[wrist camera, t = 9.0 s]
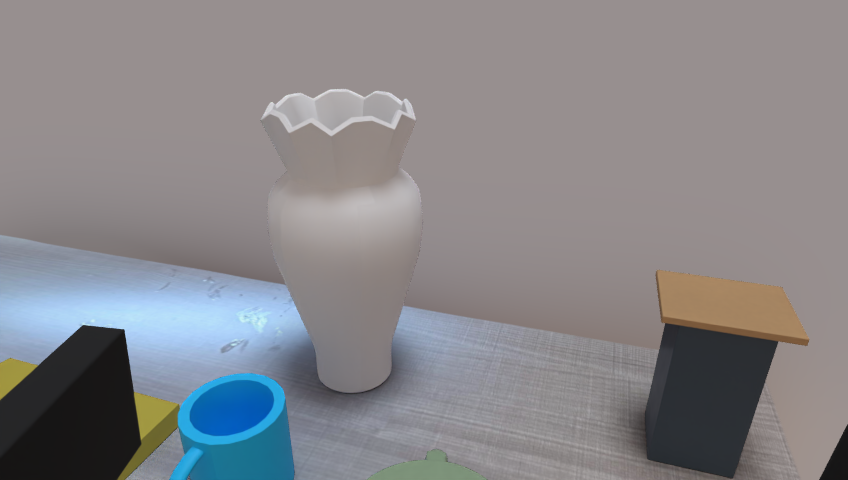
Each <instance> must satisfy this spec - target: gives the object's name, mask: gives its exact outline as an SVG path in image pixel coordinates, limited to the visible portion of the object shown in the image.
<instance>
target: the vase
mask: <svg viewBox="0 0 848 480" xmlns="http://www.w3.org/2000/svg"><path fill="white" fill-rule="evenodd" d="M260 121H261V122H262V124H263V126H264V128H265V130H266V132H267V133H268V136H269V137H270V139H271V141H272V143H273V144H274V146H275V149H276V150H277V152H278V154H279V156H280V158H281V160H282V162H283V163H284V165H285V167H286V169H287V171H286V172H285V173H284V174H283V175H282V176H281V177H280V178H279V179H278V180H277V181H276V182H275V184H274V186H273V187H272V189H271V191H270V193H269V196H268V233H269V237H270V242H271V246H272V250H273V254H274V258H275V261H276V264H277V266H278V268H279V270H280V272H281V275H282V277H283V279H284V281H285V283H286V286H287V288H288V290H289V292H290V294H291V297H292V299H293V301H294V303H295V305H296V308H297V310H298V312H299V314H300V316H301V319H302V321H303V323H304V325H305V327H306V330H307V332H308V334H309V336H310V338H311V341H312V343H313V345H314V349H315V352H316V361H317V372H318V376H319V379H320V381H321V382H322V383H323V384H324V385H325V386H327V387H329V388H330V389H332V390H336V391H339V392H344V393H358V392H364V391H367V390H371V389H373V388H375V387H377V386H379V385H380V384H382V383H383V382H384V381H385V380H386V379H387V378H388V376H389V375H390V372H391V368H392V360H391V345H392V339H393V336H394V333H395V330H396V326H397V323H398V320H399V317H400V314H401V310H402V307H403V304H404V301H405V298H406V294H407V291H408V288H409V285H410V282H411V279H412V275H413V272H414V269H415V266H416V263H417V259H418V256H419V252H420V244H421V236H422V227H423V216H422V206H421V196H420V191H419V189H418V187H417V185H416V183H415V182H414V181H413V179H412V178H411V177H410V175H409V174H407V173H406V172H405V171H404V170H403V169H401V168H400V167H399V163H400V160H401V158H402V155H403V153H404V150H405V148H406V145H407V143H408V140H409V137H410V135H411V133H412V130H413V128H414V125H415V122H416V119H415V115H414V112H413V108H412V105H411V104H410V102H409V101H408V100H407V99H404V100H403V102H402V101H400V100H399V99H398V98H396V97H395V96H394V95H392V94H391V93H388V92H381V91H375V92H374V93H372V94H370V95H368V96H366V97H363V96H361V95H359V94H356V93H354V92H352V91H350V90H348V89H331V90H328V91H326V92H324V93H322V94H321V95H319V96H317V97H315V98H311V97H308V96H306V95H304V94H302V93H295V94H290V95H286V96H285V97H284V98H283V99H282V100H280V101H279V102H278V103H277V104H276V105H275V104H274V103H272V102H270V104H269V105H268V107H267V109H266V111H265V113H264V115H263V117H262V118H261V120H260Z"/></svg>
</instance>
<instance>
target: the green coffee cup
mask: <svg viewBox="0 0 848 480" xmlns="http://www.w3.org/2000/svg"><path fill="white" fill-rule="evenodd" d="M367 480H487V479H486V478H485V477H483V476H482V475H480V474H478V473H477V472H475V471H473V470H471V469H468V468H466V467H463V466H461V465H458V464H454V463H450V462H448V458H447V456H446V453H445V452H443V451H442V450H439V449H433V450H431V451H428V452H427V455H426V458H425V460H415V461H409V462H403V463H400V464H396V465H393V466H390V467H388V468H385V469H383V470H381V471H379V472H377V473H376V474H374V475H372V476H371V477H369V478H368V479H367Z"/></svg>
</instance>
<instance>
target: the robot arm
mask: <svg viewBox="0 0 848 480" xmlns="http://www.w3.org/2000/svg"><path fill="white" fill-rule="evenodd" d="M141 444H142V443H141V437H140V430H139V423H138V417H137V410H136V404H135V397H134V390H133V384H132V377H131V370H130V364H129V357H128V350H127V344H126V337H125V330H124V329H115V328H105V327H96V326H86V325H83V326H81V327H80V328H79V329H78V330H77V331H76V332H75V333H74V334H73V335H72V336H70V337H69V338H68V339H67V340H66V341H65V342H64V343H63V344H62V345H60V346H59V347H58V348H57V349H56V350H55V351H54V352H53V353H52V354H50V355H49V356H48V357H47V358H46V359H45V360H44V361H43V362H42V363H41V364H39V365H38V366H37V367H36V368H35V369H34V370H33V371H32V372H31V373H29V374H28V375H27V376H26V377H25V378H24V379H23V380H22V381H21V382H20V383H18V384H17V385H16V386H15V387H14V388H13V389H12V390H11V391H10V392H8V393H7V394H6V395H5V396H4V397H3V398H2V399H1V400H0V480H117V479H118V478H119V476H120V475H121V473H122V472H123V470H124V469H125V468H126V466H127V465H128V463H129V462H130V460H131V459H132V457H133V456H134V455H135V453H136V452H137V450H138V449H139V447H140V446H141ZM819 480H848V425H847V426H846V428H845V430H844V432H843V434H842V436H841V438H840V440H839V442H838V444H837V446H836V448H835V450H834V452H833V454H832V456H831V458H830V460H829V462H828V464H827V466H826V468H825V470H824V472H823V474H822V476H821V477H820V479H819Z"/></svg>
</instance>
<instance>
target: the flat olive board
mask: <svg viewBox="0 0 848 480" xmlns="http://www.w3.org/2000/svg"><path fill="white" fill-rule="evenodd" d="M37 366H38V365H34V364H30V363H27V362H23V361H20V360H16V359H12V358H9V359H7V360H5V361H3V362H1V363H0V400H1V399H2V398H3V397H4V396H5V395H6V394H7V393H8V392H10V391H11V390H12V389H13V388H14V387H15V386H16V385H17V384H18V383H20V382H21V381H22V380H23V379H24V378H25V377H26V376H27V375H28V374H29V373H31V372H32V371H33V370H34V369H35V368H36V367H37ZM134 397H135V404H136V410H137V417H138V423H139V430H140V437H141V443H142V444H141V446H140V447H139V449H138V450H137V452H136V453H135V455H134V456H133V457H132V459H131V460H130V462H129V463H128V465H127V466H126V468H125V469H124V470H123V472H122V473H121V475H120V476H119V478H118V479H117V480H125V479H126V478H127V477H128V476H129V475H130V474H131V473H132V472H133V471H134V470H135V469H136V468H137V467H138V466H139V465H140V464H141V463H142V462H143V461H144V460H145V459H146V458H147V457H148V456H149V455H150V454H151V453H152V452H153V451H154V450H155V449H156V448H157V447H158V446H159V445H160V444H161V443H162V442H163V441H164V440H165V439H166V438H167V437H168V436H169V435H170V434H171V433H172V432H173V431H174V430H175V429H176V428H177V427H178V412H179V410H180V407H179V404H176V403H173V402H169V401H165V400H162V399H158V398H154V397H151V396H147V395H143V394H140V393H136V392H134Z"/></svg>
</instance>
